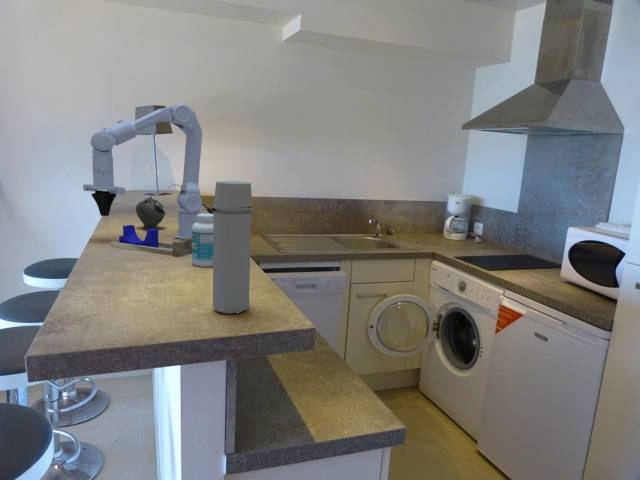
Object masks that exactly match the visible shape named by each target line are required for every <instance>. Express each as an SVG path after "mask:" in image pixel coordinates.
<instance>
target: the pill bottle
mask: <svg viewBox="0 0 640 480" xmlns="http://www.w3.org/2000/svg"><path fill="white" fill-rule="evenodd" d="M197 220H198V222H196V223H194V224H193V225H192V253H191V263H192V264H193V265H194V266H196V267H204V268H205V267H206V268H209V267H213V213H204V214H197Z"/></svg>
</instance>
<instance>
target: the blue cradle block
mask: <svg viewBox="0 0 640 480" xmlns="http://www.w3.org/2000/svg"><path fill="white" fill-rule="evenodd" d="M122 230H123V231H122V234H123V235H118V242H120V243H127V244H134V245H141V246H148V247H155V248H160V247H159V246H158V241H159V230H158V229H151V230H146V234H145V238H144V240H143V241H142V240H141V239H142V238H140V237H139V236H138V234H137V232H136V229H135V225H134V224H126V225H122Z"/></svg>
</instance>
